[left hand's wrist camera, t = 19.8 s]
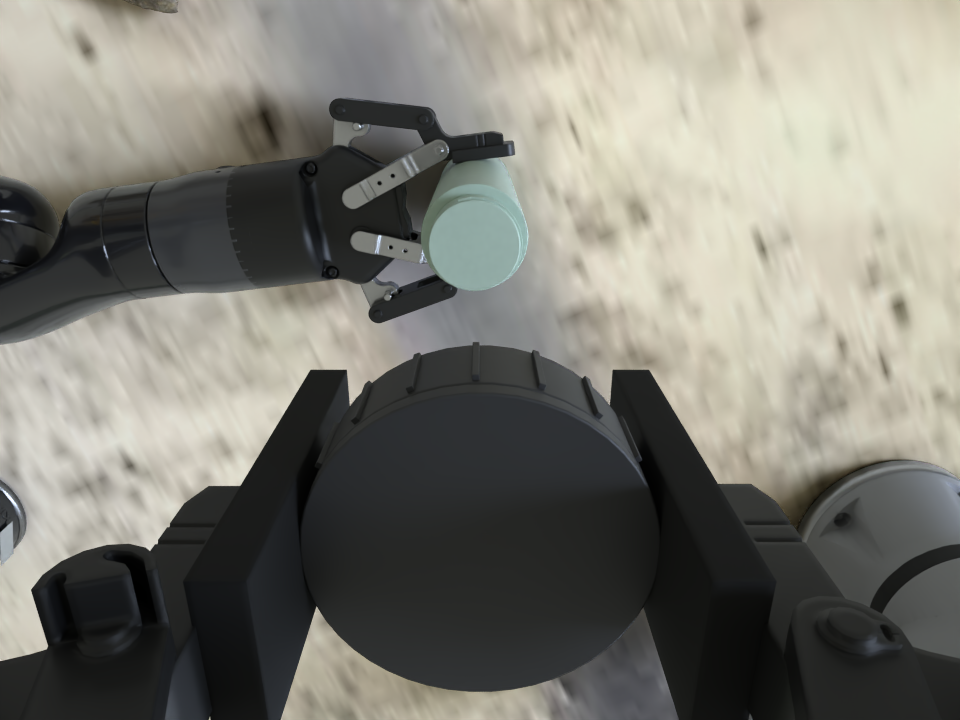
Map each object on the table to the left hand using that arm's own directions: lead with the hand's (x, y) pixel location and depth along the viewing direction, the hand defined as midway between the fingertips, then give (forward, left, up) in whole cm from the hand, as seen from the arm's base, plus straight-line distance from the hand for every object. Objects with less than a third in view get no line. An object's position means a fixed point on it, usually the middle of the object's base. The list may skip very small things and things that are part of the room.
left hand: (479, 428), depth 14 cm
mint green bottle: (0, 0, -36) cm, 36 cm away
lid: (0, 0, +4) cm, 4 cm away
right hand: (-2, 0, -29) cm, 29 cm away
